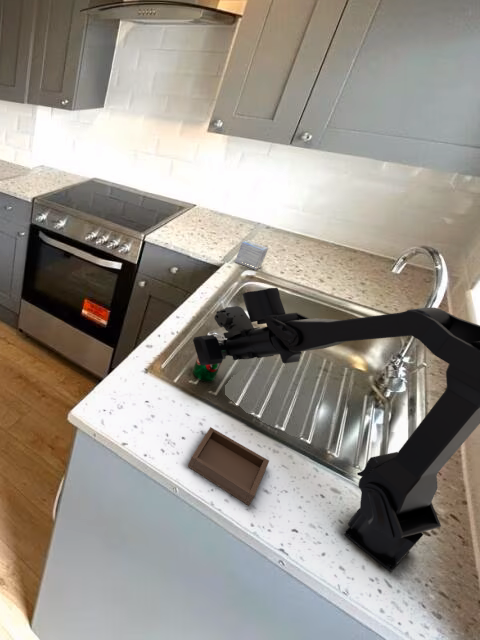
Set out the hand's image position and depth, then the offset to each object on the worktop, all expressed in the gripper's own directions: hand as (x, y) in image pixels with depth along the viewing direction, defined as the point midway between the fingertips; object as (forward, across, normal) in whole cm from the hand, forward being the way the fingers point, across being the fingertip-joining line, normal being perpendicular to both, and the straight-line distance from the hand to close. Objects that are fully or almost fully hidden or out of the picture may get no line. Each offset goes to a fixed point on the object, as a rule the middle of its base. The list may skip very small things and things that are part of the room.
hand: (207, 351), depth 103 cm
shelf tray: (-12, +14, +22) cm, 29 cm away
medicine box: (+40, -64, -31) cm, 82 cm away
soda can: (+4, 0, +6) cm, 7 cm away
